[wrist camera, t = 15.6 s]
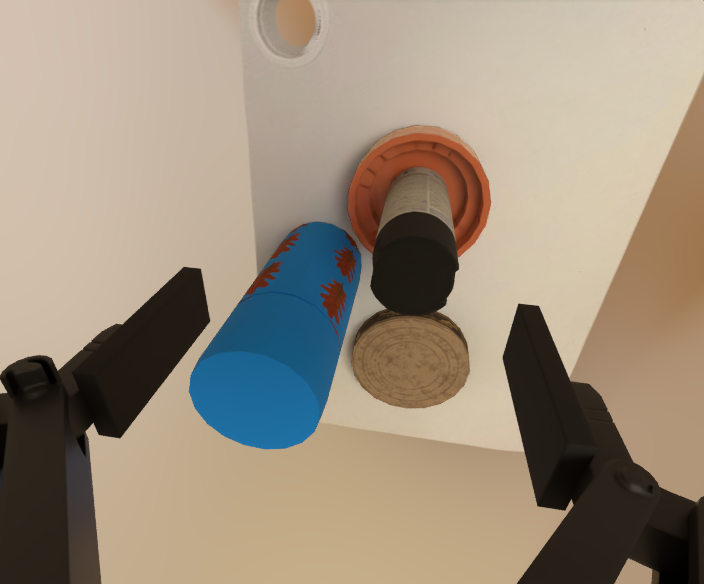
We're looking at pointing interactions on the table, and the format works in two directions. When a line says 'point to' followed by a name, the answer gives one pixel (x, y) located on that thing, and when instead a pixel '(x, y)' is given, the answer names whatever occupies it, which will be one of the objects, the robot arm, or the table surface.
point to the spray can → (415, 245)
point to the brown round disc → (411, 359)
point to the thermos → (281, 342)
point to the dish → (430, 152)
